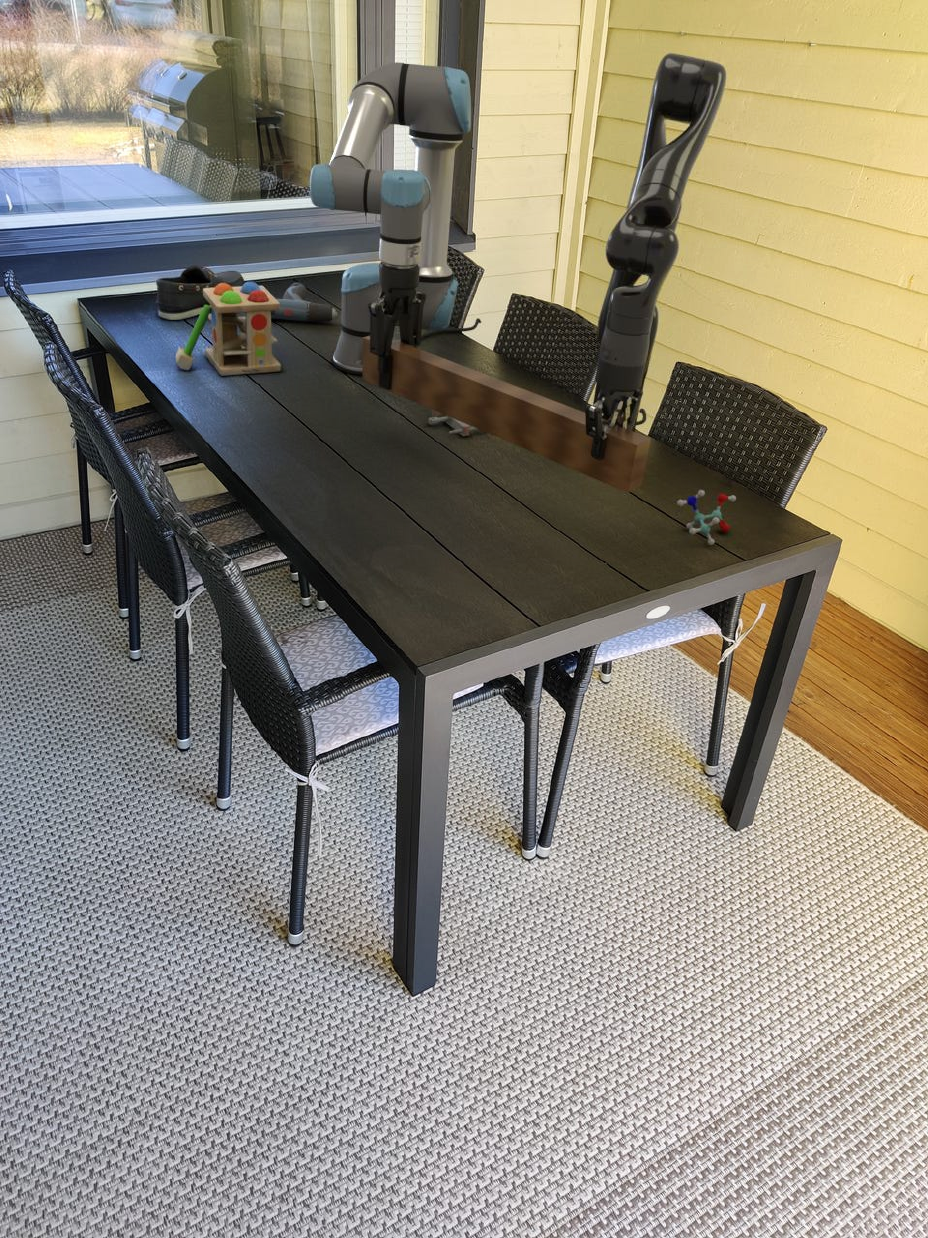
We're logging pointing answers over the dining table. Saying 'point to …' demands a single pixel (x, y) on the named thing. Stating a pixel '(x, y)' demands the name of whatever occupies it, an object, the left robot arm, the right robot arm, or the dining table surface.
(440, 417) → the clamp
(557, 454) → the bar
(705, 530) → the molecular model
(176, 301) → the boat shoe
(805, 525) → the dining table surface
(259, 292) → the pounding bench toy
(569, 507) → the dining table surface
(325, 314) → the power drill
